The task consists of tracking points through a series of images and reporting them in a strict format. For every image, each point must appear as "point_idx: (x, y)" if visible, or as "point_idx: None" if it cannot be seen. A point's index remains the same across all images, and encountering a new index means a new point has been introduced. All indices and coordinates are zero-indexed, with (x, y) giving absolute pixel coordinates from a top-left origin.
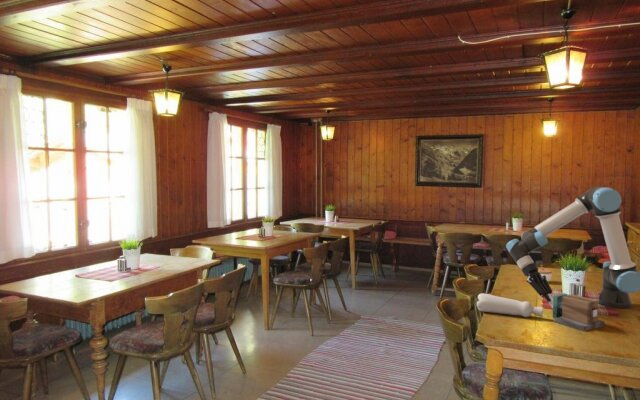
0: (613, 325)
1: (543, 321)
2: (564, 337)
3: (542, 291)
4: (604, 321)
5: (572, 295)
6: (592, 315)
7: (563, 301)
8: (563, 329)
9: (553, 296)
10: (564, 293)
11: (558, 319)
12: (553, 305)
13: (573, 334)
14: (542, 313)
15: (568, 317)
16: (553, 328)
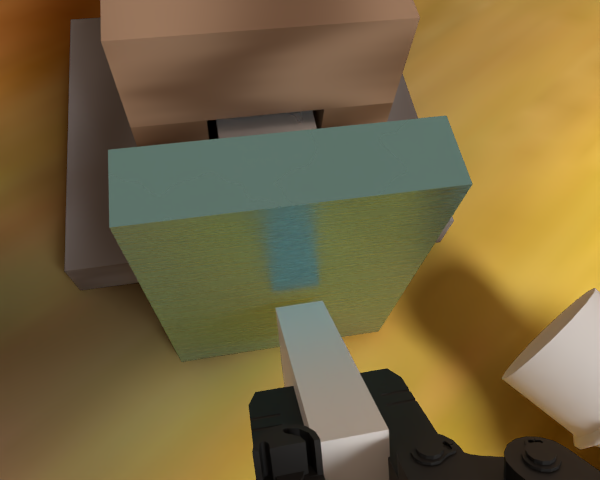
0: (12, 30)
1: (537, 300)
2: (596, 4)
3: (576, 477)
4: (75, 20)
5: (178, 11)
6: None
7: (396, 69)
8: (494, 97)
9: (462, 196)
10: (111, 209)
11: None
12: (414, 265)
13: (494, 16)
14: (521, 358)
15: None
16: (562, 136)
